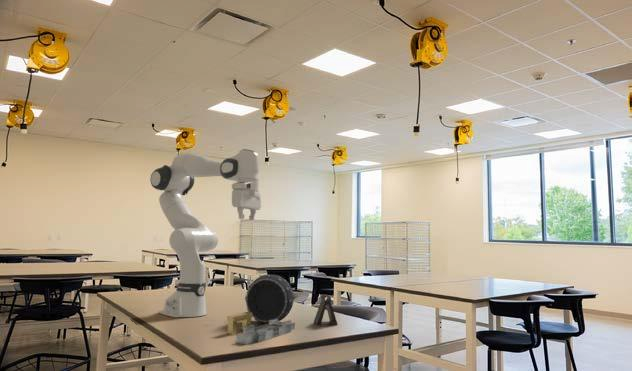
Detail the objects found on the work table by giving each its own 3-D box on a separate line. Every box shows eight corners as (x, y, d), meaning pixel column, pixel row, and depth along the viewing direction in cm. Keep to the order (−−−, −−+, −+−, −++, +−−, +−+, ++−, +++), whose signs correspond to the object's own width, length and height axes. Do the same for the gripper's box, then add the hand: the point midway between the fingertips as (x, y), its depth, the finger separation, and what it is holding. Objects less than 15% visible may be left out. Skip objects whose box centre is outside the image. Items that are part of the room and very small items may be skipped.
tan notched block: (232, 335, 155) (233, 317, 156) (226, 334, 156) (227, 316, 157) (251, 329, 164) (252, 312, 165) (245, 328, 166) (246, 311, 167)
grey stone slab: (249, 345, 141) (249, 332, 142) (233, 342, 145) (233, 329, 145) (297, 329, 167) (298, 318, 168) (283, 327, 171) (283, 316, 171)
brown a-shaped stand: (316, 325, 175) (317, 296, 176) (313, 322, 181) (314, 294, 182) (337, 325, 177) (338, 295, 178) (333, 322, 183) (334, 293, 184)
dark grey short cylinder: (288, 327, 171) (290, 276, 173) (241, 323, 175) (243, 274, 177) (295, 322, 181) (296, 274, 183) (250, 319, 185) (252, 272, 188)
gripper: (252, 189, 191) (250, 220, 189) (229, 184, 171) (228, 218, 170) (264, 189, 189) (263, 220, 187) (243, 183, 169) (242, 218, 168)
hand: (246, 219), depth 178 cm, fingers open, 8 cm apart
